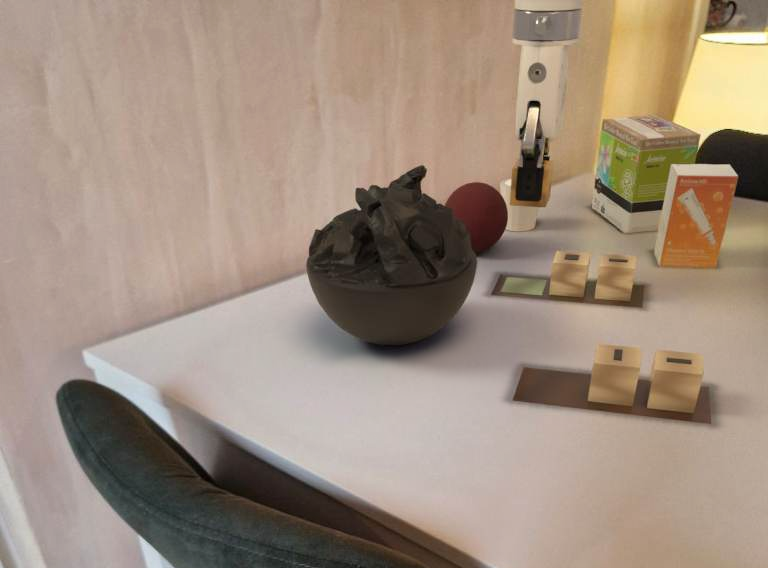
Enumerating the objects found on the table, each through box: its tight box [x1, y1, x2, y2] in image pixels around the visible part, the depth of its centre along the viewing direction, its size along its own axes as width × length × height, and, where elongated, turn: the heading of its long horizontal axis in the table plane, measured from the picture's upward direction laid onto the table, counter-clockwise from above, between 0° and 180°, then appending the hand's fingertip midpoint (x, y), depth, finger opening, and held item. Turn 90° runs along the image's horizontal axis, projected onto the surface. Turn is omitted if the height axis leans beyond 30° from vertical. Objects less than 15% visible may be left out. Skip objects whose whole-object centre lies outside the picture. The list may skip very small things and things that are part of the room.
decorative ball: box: [444, 181, 508, 253], centre depth 116 cm, size 10×10×10 cm
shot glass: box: [499, 177, 539, 232], centre depth 126 cm, size 7×7×7 cm
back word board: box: [490, 250, 645, 309], centre depth 103 cm, size 20×8×5 cm, turn 73°
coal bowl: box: [305, 164, 478, 346], centre depth 89 cm, size 20×20×19 cm
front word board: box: [512, 343, 712, 425], centre depth 80 cm, size 20×8×5 cm, turn 73°
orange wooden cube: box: [510, 158, 555, 209], centre depth 97 cm, size 5×5×5 cm
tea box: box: [591, 114, 701, 234], centre depth 124 cm, size 15×10×15 cm, turn 10°
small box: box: [653, 163, 739, 268], centre depth 109 cm, size 8×6×13 cm
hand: (531, 192), depth 98 cm, fingers closed on orange wooden cube, 4 cm apart
